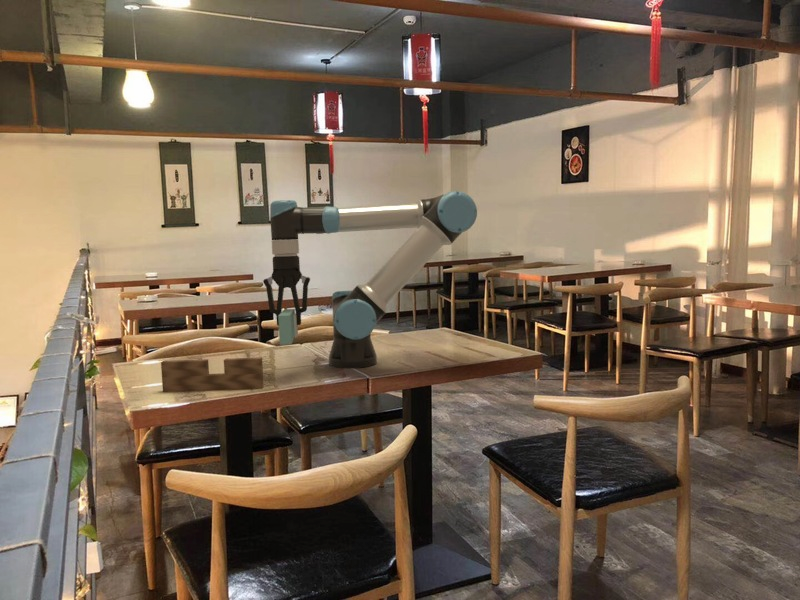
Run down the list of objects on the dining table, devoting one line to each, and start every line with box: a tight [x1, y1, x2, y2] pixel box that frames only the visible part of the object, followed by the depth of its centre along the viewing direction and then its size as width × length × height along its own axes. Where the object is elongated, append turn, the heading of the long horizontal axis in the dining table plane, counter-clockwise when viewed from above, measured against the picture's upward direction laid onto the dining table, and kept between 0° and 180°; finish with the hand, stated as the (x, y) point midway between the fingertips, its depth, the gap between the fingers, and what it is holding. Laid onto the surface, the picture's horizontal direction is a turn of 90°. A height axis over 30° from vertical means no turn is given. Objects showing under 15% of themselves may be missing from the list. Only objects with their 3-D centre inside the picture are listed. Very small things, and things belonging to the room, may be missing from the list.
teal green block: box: [278, 308, 296, 346], centre depth 175 cm, size 3×14×8 cm, turn 4°
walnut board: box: [160, 357, 264, 393], centre depth 166 cm, size 26×2×8 cm, turn 94°
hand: (289, 336), depth 179 cm, fingers closed on teal green block, 3 cm apart
